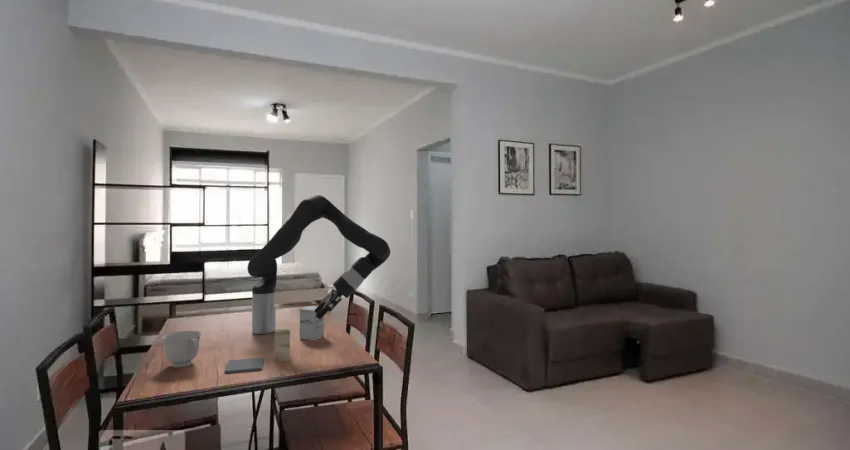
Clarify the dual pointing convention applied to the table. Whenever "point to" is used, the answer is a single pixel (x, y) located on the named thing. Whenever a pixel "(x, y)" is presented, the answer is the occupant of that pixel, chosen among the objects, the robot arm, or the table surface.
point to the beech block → (282, 345)
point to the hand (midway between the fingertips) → (316, 315)
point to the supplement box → (310, 324)
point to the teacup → (181, 347)
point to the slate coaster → (244, 365)
